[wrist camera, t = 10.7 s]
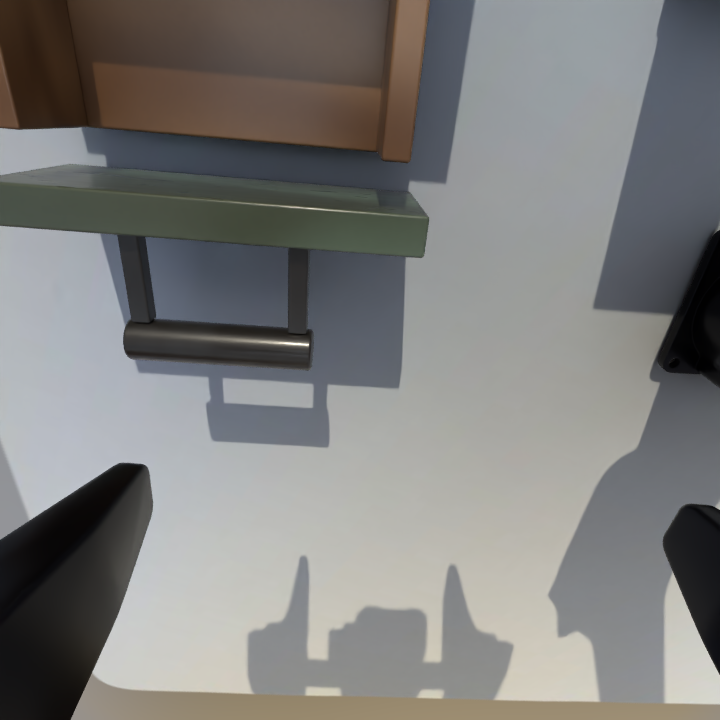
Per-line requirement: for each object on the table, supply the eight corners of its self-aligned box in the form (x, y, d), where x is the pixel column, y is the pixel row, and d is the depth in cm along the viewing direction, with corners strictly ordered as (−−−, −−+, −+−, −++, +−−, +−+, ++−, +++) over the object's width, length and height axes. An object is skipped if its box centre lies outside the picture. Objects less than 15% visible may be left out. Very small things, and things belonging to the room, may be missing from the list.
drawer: (394, 327, 20) (405, 385, 15) (97, 306, 19) (23, 361, 15) (485, -400, 11) (570, -734, 7) (-61, -481, 10) (-353, -903, 6)
